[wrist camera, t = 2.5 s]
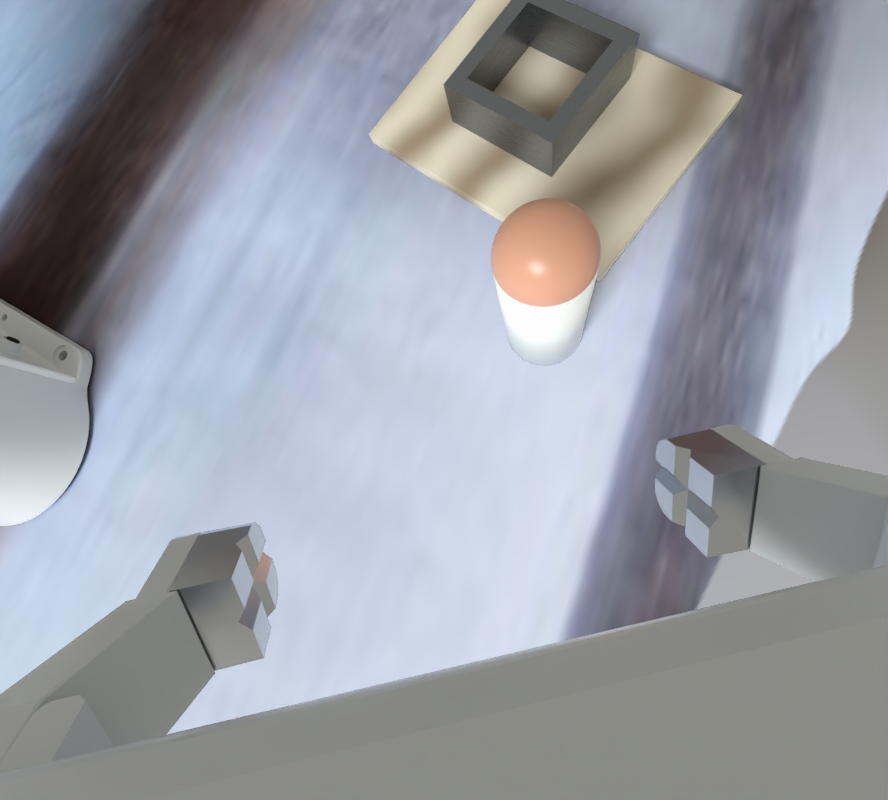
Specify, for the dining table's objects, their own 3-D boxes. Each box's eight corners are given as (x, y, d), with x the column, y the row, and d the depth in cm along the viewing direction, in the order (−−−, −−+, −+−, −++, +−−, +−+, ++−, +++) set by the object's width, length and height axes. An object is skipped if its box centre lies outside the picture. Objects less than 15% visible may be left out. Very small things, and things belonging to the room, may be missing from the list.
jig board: (373, 142, 40) (368, 134, 39) (492, -6, 40) (491, -18, 39) (599, 282, 34) (601, 275, 33) (736, 106, 34) (742, 95, 33)
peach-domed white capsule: (492, 338, 35) (461, 244, 22) (536, 281, 35) (533, 154, 22) (552, 380, 33) (557, 306, 20) (597, 321, 33) (633, 210, 20)
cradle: (452, 121, 38) (443, 84, 34) (526, 28, 38) (524, -17, 34) (551, 177, 35) (552, 143, 32) (630, 77, 35) (639, 33, 32)
